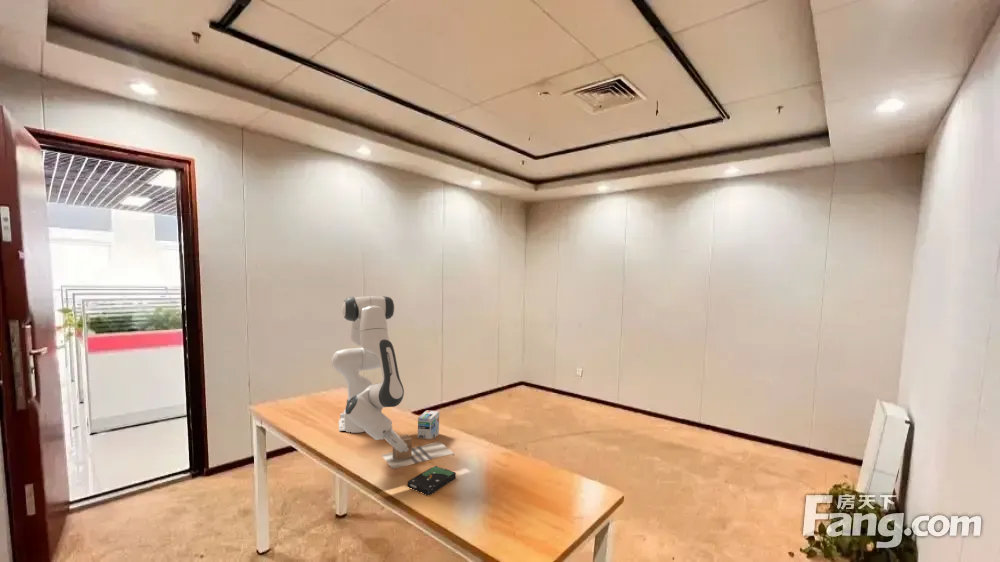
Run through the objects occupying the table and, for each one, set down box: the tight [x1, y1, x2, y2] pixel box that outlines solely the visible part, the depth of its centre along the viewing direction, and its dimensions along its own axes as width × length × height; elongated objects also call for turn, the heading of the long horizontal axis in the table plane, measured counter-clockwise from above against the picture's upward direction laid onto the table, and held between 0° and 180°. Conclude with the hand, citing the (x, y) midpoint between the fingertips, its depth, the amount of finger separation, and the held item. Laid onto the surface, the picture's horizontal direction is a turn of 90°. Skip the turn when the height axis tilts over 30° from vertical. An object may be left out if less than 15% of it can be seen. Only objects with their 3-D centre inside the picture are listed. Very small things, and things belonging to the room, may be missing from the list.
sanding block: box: [392, 434, 413, 462], centre depth 161 cm, size 5×6×8 cm
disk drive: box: [407, 465, 457, 496], centre depth 146 cm, size 10×3×15 cm
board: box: [381, 441, 455, 470], centre depth 165 cm, size 14×26×2 cm, turn 124°
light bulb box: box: [417, 409, 440, 440], centre depth 186 cm, size 11×7×11 cm, turn 168°
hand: (404, 446), depth 162 cm, fingers closed on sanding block, 5 cm apart
